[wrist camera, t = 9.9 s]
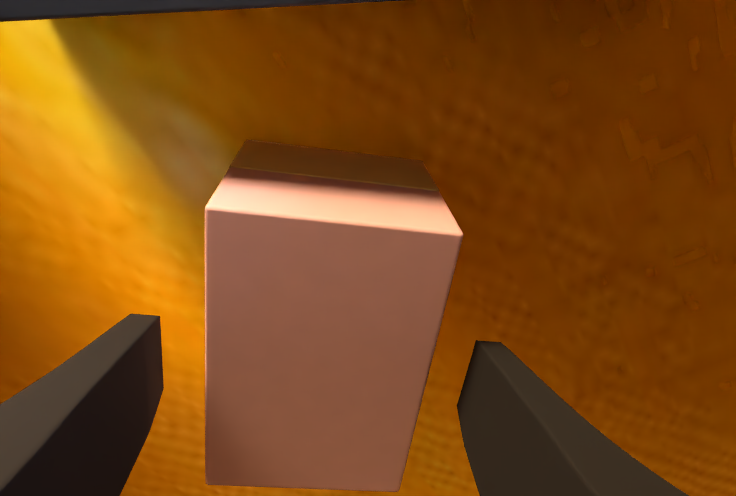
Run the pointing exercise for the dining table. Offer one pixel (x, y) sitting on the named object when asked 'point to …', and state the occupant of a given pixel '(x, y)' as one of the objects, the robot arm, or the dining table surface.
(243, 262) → the pink rectangular block
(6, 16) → the storage box
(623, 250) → the dining table surface
